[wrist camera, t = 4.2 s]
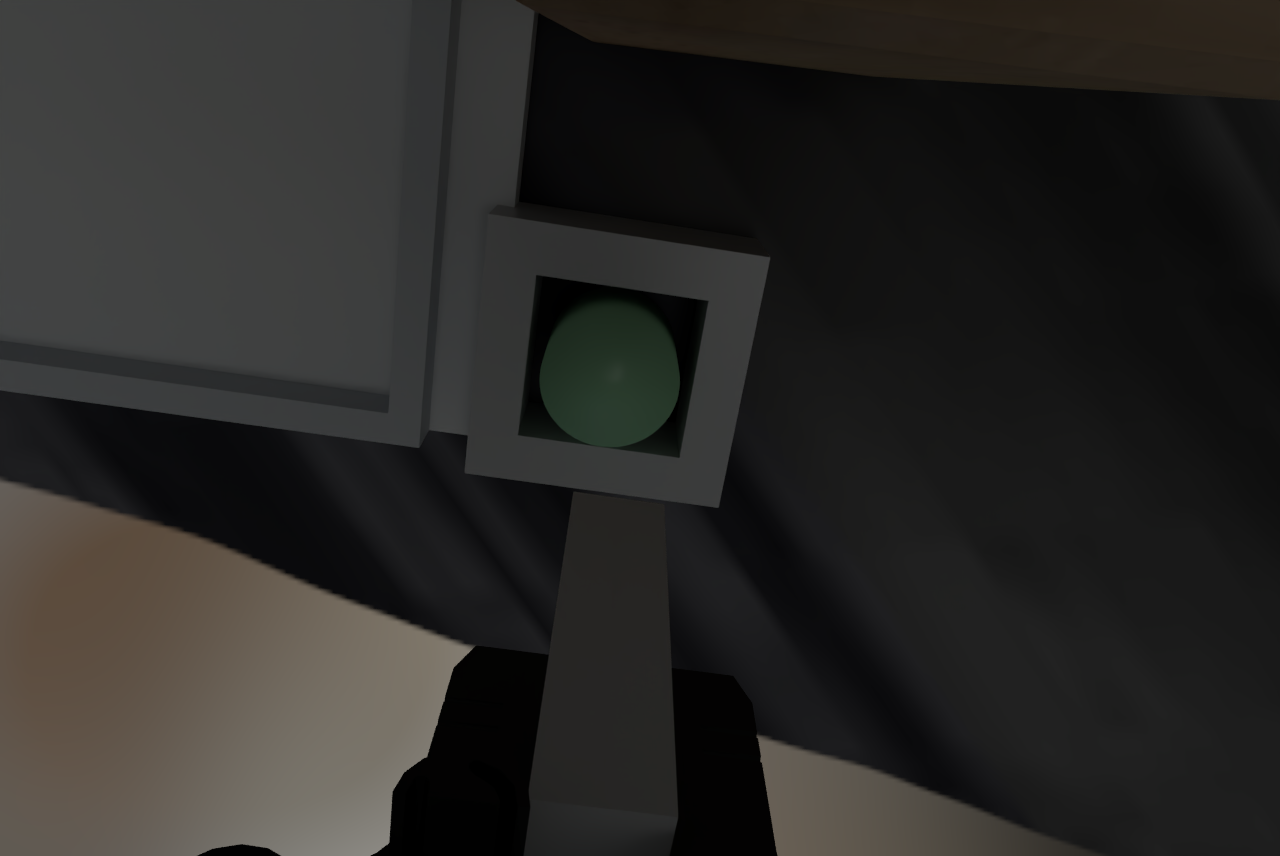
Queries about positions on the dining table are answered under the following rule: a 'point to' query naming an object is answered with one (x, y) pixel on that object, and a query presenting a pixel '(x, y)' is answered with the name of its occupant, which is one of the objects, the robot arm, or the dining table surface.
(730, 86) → the dining table surface
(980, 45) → the wooden block
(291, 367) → the shallow gray rectangular tray
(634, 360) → the button
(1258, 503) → the dining table surface
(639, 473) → the button housing
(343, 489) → the dining table surface
